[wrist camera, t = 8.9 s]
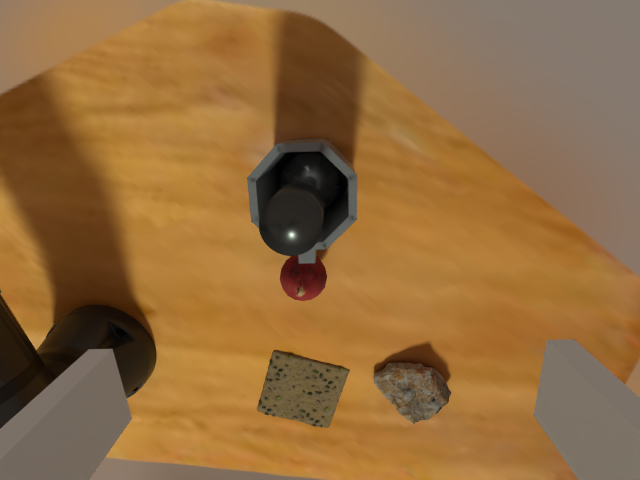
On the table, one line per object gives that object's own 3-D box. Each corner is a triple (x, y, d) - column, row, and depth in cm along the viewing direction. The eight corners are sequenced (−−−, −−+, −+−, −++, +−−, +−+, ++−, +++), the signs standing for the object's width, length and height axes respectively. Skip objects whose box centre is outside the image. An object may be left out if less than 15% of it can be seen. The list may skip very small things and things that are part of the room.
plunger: (283, 210, 41) (243, 274, 23) (279, 153, 39) (232, 174, 21) (339, 209, 40) (343, 273, 23) (338, 151, 38) (342, 171, 21)
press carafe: (278, 229, 45) (255, 269, 32) (272, 139, 42) (244, 144, 29) (350, 228, 45) (356, 268, 32) (349, 137, 41) (357, 141, 28)
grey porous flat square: (329, 427, 55) (329, 432, 55) (256, 409, 55) (255, 413, 54) (351, 367, 52) (351, 371, 51) (273, 347, 51) (272, 351, 50)
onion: (280, 249, 46) (269, 273, 38) (322, 241, 45) (320, 264, 38) (289, 288, 48) (281, 318, 40) (330, 281, 47) (330, 310, 40)
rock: (454, 376, 51) (409, 347, 48) (466, 415, 47) (416, 386, 43) (410, 398, 56) (365, 373, 52) (416, 436, 51) (367, 411, 47)
